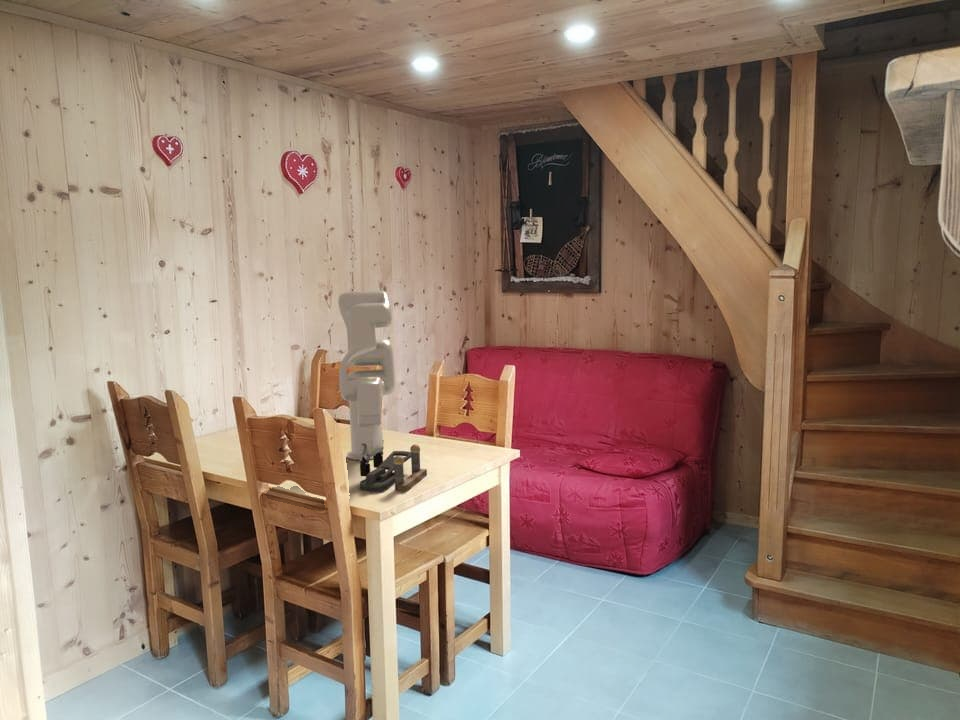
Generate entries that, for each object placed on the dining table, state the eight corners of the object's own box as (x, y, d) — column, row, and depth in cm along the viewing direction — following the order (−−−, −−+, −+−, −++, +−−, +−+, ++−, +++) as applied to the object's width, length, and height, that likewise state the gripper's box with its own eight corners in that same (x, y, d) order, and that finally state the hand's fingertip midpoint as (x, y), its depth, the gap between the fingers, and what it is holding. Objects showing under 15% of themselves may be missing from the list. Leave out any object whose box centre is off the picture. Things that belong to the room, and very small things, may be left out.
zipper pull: (416, 451, 223) (380, 472, 200) (417, 471, 224) (381, 493, 201) (392, 450, 226) (354, 470, 203) (393, 469, 227) (355, 491, 204)
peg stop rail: (413, 474, 220) (412, 442, 219) (426, 475, 219) (425, 443, 218) (392, 491, 203) (390, 457, 202) (406, 492, 202) (405, 457, 200)
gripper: (370, 413, 221) (372, 463, 223) (346, 424, 205) (349, 479, 207) (391, 414, 219) (393, 465, 221) (369, 425, 203) (371, 480, 205)
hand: (372, 471), depth 214 cm, fingers open, 9 cm apart
